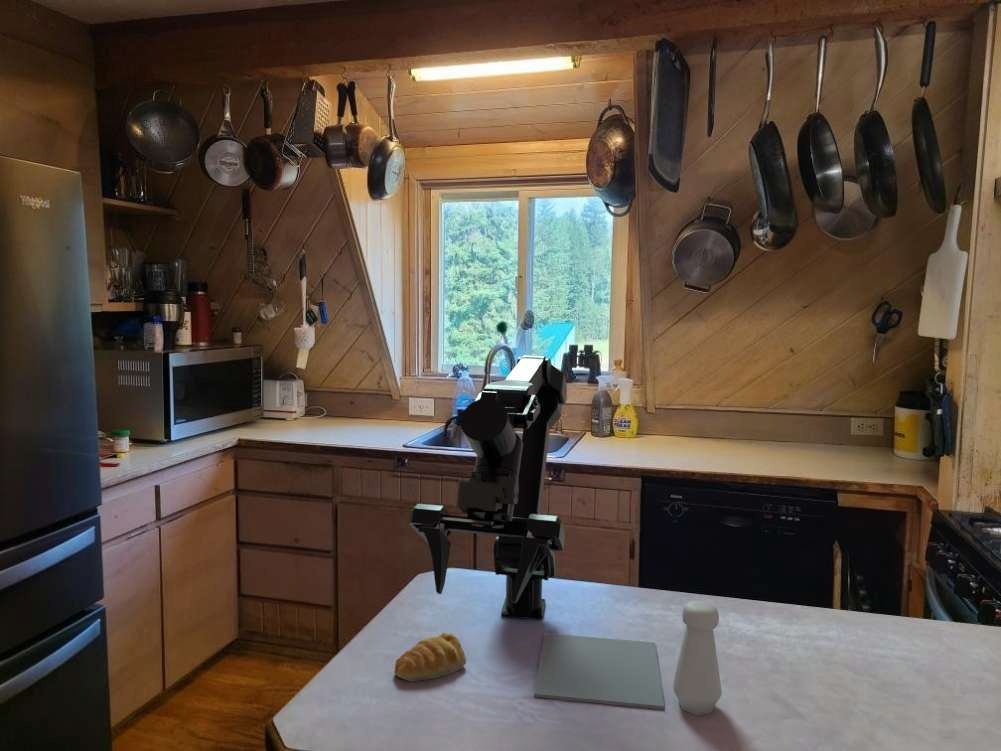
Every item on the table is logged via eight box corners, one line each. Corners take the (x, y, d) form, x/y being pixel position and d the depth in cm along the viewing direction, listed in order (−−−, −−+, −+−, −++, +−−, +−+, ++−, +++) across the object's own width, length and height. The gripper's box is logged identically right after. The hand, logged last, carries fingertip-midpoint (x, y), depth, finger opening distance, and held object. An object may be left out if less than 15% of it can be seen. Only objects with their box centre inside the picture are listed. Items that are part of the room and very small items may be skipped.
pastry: (411, 693, 90) (411, 664, 90) (384, 671, 96) (383, 644, 95) (470, 668, 96) (470, 641, 96) (441, 649, 102) (441, 623, 101)
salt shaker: (723, 699, 90) (729, 600, 88) (717, 724, 84) (723, 620, 83) (676, 688, 92) (681, 591, 90) (667, 711, 87) (672, 610, 85)
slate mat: (544, 635, 105) (544, 633, 105) (655, 645, 103) (655, 642, 103) (533, 696, 90) (533, 693, 90) (664, 709, 87) (664, 706, 87)
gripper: (409, 443, 87) (379, 572, 79) (561, 454, 82) (545, 591, 75) (433, 477, 96) (408, 594, 89) (570, 488, 92) (557, 612, 85)
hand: (475, 597), depth 84 cm, fingers open, 9 cm apart
